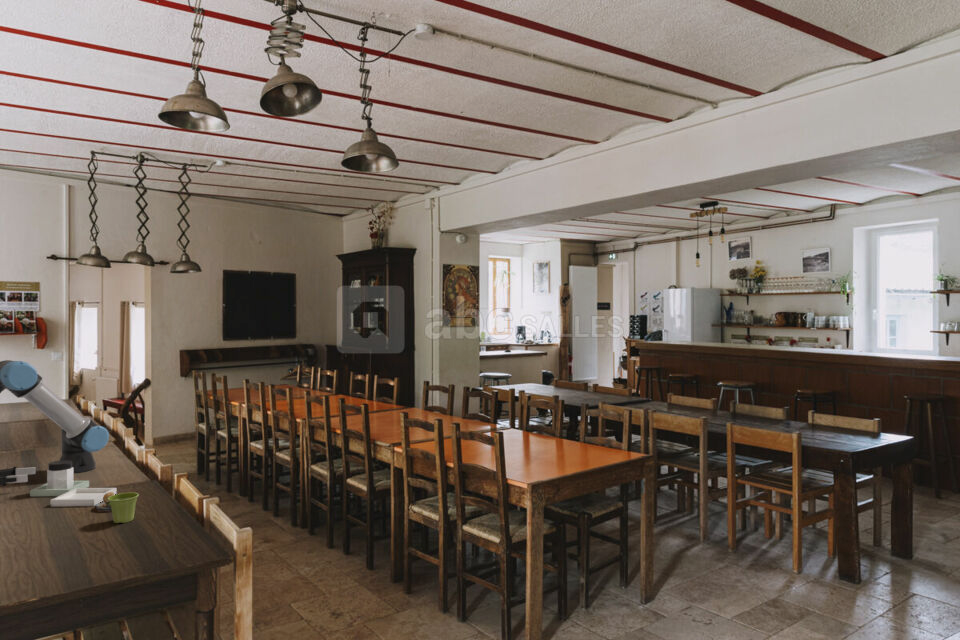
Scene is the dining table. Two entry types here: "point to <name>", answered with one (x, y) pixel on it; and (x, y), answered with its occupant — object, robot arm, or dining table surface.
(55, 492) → the pale green square frame
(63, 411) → the robot arm
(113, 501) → the plant pot
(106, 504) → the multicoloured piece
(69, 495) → the tray
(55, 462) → the jar
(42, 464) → the dining table surface
